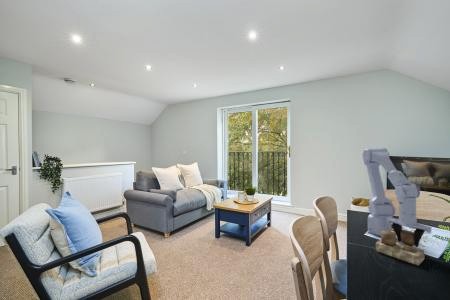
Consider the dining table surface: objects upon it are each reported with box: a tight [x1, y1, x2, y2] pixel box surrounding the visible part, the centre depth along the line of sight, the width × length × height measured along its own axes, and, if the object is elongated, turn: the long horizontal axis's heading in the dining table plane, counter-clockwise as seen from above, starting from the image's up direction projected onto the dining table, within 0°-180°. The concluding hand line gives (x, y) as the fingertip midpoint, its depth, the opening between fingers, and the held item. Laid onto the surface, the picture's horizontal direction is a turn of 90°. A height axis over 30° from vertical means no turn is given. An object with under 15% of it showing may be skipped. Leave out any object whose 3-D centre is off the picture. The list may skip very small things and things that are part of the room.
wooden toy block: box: [375, 230, 425, 266], centre depth 86 cm, size 14×8×8 cm, turn 33°
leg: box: [400, 229, 415, 247], centre depth 90 cm, size 5×5×8 cm
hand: (408, 243), depth 90 cm, fingers closed on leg, 5 cm apart
